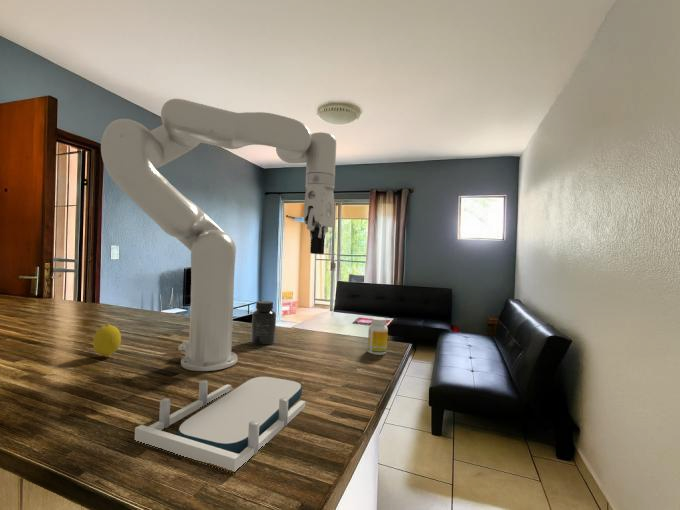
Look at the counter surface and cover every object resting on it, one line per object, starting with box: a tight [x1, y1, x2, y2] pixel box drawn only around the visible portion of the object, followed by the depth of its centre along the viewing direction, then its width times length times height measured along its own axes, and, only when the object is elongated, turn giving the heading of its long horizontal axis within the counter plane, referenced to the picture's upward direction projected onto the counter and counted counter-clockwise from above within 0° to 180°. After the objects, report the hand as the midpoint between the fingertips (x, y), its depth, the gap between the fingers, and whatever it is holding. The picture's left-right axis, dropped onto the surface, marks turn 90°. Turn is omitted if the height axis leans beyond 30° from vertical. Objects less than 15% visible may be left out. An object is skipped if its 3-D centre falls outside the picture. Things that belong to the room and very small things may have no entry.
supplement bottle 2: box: [367, 316, 389, 356], centre depth 94 cm, size 5×5×10 cm
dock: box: [134, 379, 307, 472], centre depth 53 cm, size 17×20×4 cm
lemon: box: [92, 323, 122, 358], centre depth 80 cm, size 6×6×8 cm
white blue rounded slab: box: [176, 376, 303, 454], centre depth 56 cm, size 24×12×2 cm, turn 163°
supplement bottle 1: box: [250, 300, 277, 346], centre depth 99 cm, size 7×7×12 cm
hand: (317, 253), depth 86 cm, fingers closed
